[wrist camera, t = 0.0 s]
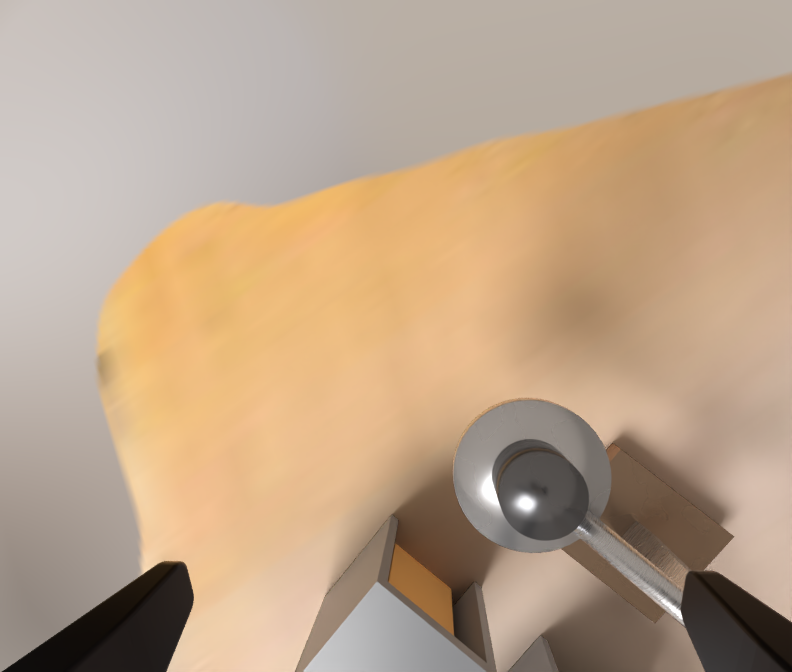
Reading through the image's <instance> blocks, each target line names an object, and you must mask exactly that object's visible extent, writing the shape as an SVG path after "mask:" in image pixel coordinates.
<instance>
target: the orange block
mask: <svg viewBox="0 0 792 672" xmlns="http://www.w3.org/2000/svg"><path fill="white" fill-rule="evenodd" d="M388 582H389V583H390V584H391V585H393V586H394V587H395V588H396V589H397V590H399V591H400V592H401V593H402V594H403V595H405V596H406V597H407V598H408V599H410V600H411V601H412V602H413V603H414V604H416V605H417V606H418V607H419V608H420V609H422V610H423V611H424V612H425V613H427V614H428V615H429V616H430V617H431V618H433V619H434V620H435V621H436V622H437V623H439V624H440V625H441V626H442V627H444V628H445V629H446V630H447V631H448V632H450V633H451V634H452V635H453V636H454V627H453V611H452V595H451V588H449V587H448V586H447V585H446V584H445V583H443V582H442V581H441V580H440V579H438V578H437V577H436V576H435V575H433V574H432V573H431V572H430V571H429V570H427V569H426V568H425V567H424V566H422V565H421V564H420V563H419V562H418V561H416V560H415V559H414V558H413V557H411V556H410V555H409V554H408V553H407V552H405V551H404V550H403V549H402V548H400V547H399V546H398V545H397V544H396V543H395V545H394V549H393V554H392V560H391V565H390V571H389V577H388Z"/></svg>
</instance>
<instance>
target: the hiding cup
mask: <svg viewBox="0 0 792 672" xmlns="http://www.w3.org/2000/svg"><path fill="white" fill-rule="evenodd" d="M398 521H399V520H398V519H397V518H395V517H394V516H393V515H391V516H390V517H389V518H388V520H387V521H386V522H385V523H384V525H383V526H382V527H381V528H380V530H379V531H378V532H377V533H376V534H375V536H374V537H373V538H372V539H371V541H370V542H369V543H368V544H367V546H366V547H365V548H364V549H363V550H362V552H361V553H360V554H359V555H358V557H357V558H356V559H355V560H354V562H353V563H352V564H351V565H350V566H349V568H348V569H347V570H346V571H345V573H344V574H343V575H342V576H341V578H340V579H339V580H338V581H337V582H336V584H335V585H334V586H333V587H332V589H331V590H330V591H329V592H328V594H327V595H326V596H325V597H324V600H323V602H322V605H321V607H320V610H319V612H318V615H317V618H316V620H315V623H314V625H313V628H312V630H311V633H310V635H309V638H308V640H307V643H306V645H305V648H304V650H303V653H302V655H301V658H300V660H299V663H298V665H297V668H296V670H295V672H497V671H496V666H495V660H494V655H493V649H492V643H491V638H490V632H489V627H488V621H487V615H486V610H485V604H484V599H483V593H482V587H480V586H479V585H478V584H477V583H475V582H474V583H473V584H472V585H471V586H470V587H469V589H468V590H467V591H466V592H465V593H464V594H463V596H462V597H461V598H460V599H459V600H458V601H457V603H456V604H455V605H454V606H453V607H452V611H453V627H454V636H453V635H452V634H451V633H450V632H448V631H447V630H446V629H445V628H444V627H442V626H441V625H440V624H439V623H437V622H436V621H435V620H434V619H433V618H431V617H430V616H429V615H428V614H427V613H425V612H424V611H423V610H422V609H420V608H419V607H418V606H417V605H416V604H414V603H413V602H412V601H411V600H410V599H408V598H407V597H406V596H405V595H403V594H402V593H401V592H400V591H399V590H397V589H396V588H395V587H394V586H393V585H391V584H390V583H389V582H388V577H389V571H390V565H391V560H392V554H393V549H394V543H395V537H396V532H397V526H398Z"/></svg>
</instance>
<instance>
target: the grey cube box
mask: <svg viewBox="0 0 792 672" xmlns="http://www.w3.org/2000/svg"><path fill="white" fill-rule="evenodd" d="M508 672H558V669H557V666H556V663H555V660H554V657H553V655H552V652H551V649H550V646H549V643H548V641H547V640H546V639H544V638H543V637H542V636H541V635H540V636H539V637H538V639H537V640H536V641H535V642H534V643H533V644H532V645H531V647H530V648H529V649H528V650H527V651H526V652H525V653H524V654H523V656H522V657H521V658H520V659H519V660H518V661H517V662H516V664H515V665H514V666H513V667H512V668H511V669H510V670H509V671H508Z"/></svg>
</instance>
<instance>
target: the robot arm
mask: <svg viewBox="0 0 792 672" xmlns="http://www.w3.org/2000/svg"><path fill="white" fill-rule="evenodd" d="M193 601H194V594H193V589H192V585H191V581H190V577H189V573H188V570H187V566H186V565H185V563H184V562H181V561H164V562H161V563H159V564H157V565H156V566H154V567H153V568H151V569H150V570H148V571H147V572H145V573H144V574H143V575H141V576H140V577H138V578H137V579H135V580H134V581H132V582H131V583H130V584H128V585H127V586H125V587H124V588H122V589H121V590H120V591H118V592H117V593H115V594H114V595H112V596H111V597H109V598H108V599H106V600H105V601H103V602H102V603H101V604H99V605H98V606H96V607H95V608H93V609H92V610H90V611H89V612H88V613H86V614H85V615H83V616H82V617H80V618H79V619H77V620H76V621H74V622H73V623H72V624H70V625H69V626H67V627H66V628H64V629H63V630H61V631H60V632H59V633H57V634H56V635H54V636H53V637H51V638H50V639H48V640H47V641H45V642H44V643H43V644H41V645H40V646H38V647H37V648H35V649H34V650H32V651H31V652H30V653H28V654H27V655H25V656H24V657H22V658H21V659H19V660H18V661H17V662H15V663H14V664H12V665H11V666H9V667H8V668H7V669H5V670H4V671H2V672H166V671H167V669H168V666H169V664H170V661H171V659H172V656H173V654H174V652H175V649H176V647H177V644H178V642H179V639H180V637H181V634H182V632H183V629H184V627H185V624H186V622H187V619H188V617H189V615H190V612H191V609H192V606H193ZM681 615H682V619H683V622H684V625H685V627H686V629H687V632H688V634H689V636H690V638H691V641H692V643H693V645H694V647H695V650H696V652H697V654H698V657H699V659H700V661H701V663H702V666H703V668H704V670H705V672H792V622H791V621H789V620H788V619H786V618H785V617H783V616H782V615H780V614H779V613H777V612H776V611H774V610H773V609H772V608H770V607H769V606H767V605H766V604H764V603H763V602H761V601H760V600H758V599H757V598H755V597H754V596H752V595H751V594H749V593H748V592H746V591H745V590H743V589H742V588H741V587H739V586H738V585H736V584H735V583H733V582H732V581H730V580H729V579H727V578H726V577H724V576H723V575H721V574H720V573H718V572H715V571H703V570H692V571H689V572H688V573H687V574H686V578H685V584H684V590H683V595H682V601H681Z"/></svg>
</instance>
